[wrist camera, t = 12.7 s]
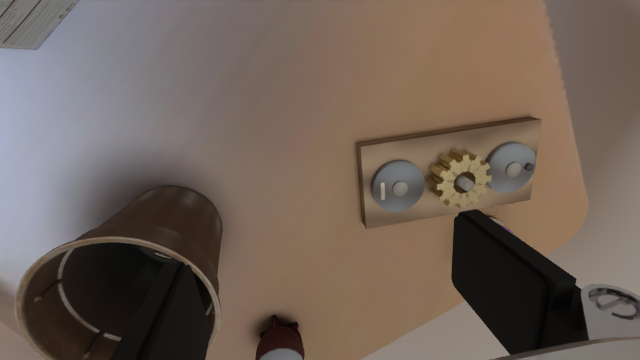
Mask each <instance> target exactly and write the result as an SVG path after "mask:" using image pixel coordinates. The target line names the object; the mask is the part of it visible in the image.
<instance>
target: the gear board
mask: <svg viewBox="0 0 640 360" xmlns="http://www.w3.org/2000/svg"><path fill="white" fill-rule="evenodd" d="M541 120H542V119H538V118H533V117H526V118H519V119H512V120H506V121H499V122H493V123H486V124H479V125H473V126H466V127H459V128H453V129H446V130H440V131H433V132H426V133H420V134H413V135H406V136H400V137H393V138H387V139H380V140H373V141H367V142H360V143H357V155H358V169H359V182H360V196H361V209H362V222H363V224H364V226H365V228H366V229H369V228H375V227H381V226H386V225H392V224H398V223H403V222H409V221H414V220H420V219H426V218H431V217H437V216H442V215H448V214H454V213H459V212H462V211H468V210H473V209H482V208H487V207H493V206H499V205H504V204H510V203H515V202H521V201H527V200H530V196H531V189H532V182H533V175H534V170H535V166H536V154H537V148H538V141H539V134H540V127H541ZM450 149H458V150H460V151H463V150H466V151H468V152H470V153H473V154H475V155H477V156H479V157H482V159H481V160H483V161H485V162H487V163H488V164H489V166H490V168H489V169H488V170H486V172H487V173H488V174H490V175H492V177H491V181H488V182H486V184H484V185H485V187H486V188H487V189H488V191H487V192H486V194H483V193H481V194H480V195H479V194H478V197H477V198H478V200H479V201H478V202H477V203H475V204H472V203H471V202H469V201H468V203H466V208H462V209H460V208H458V207H457V206H456V205H454V207H453V208H450V207H448V206H446V205H445V204H444V203H443V202H441V201H440V200H439V199H438V198H436V197H435V196H434V195H433V194H432V193H431V192H430V191H429V188H430V187H432V186H431V185H430V184H428V183H427V182H426V176H431V174H432V170H430V169H429V167H430V165H431V163H432V164H435V165H436V164H437V163H438V161H440V160H439V158H438V157H437V156H439V155H440V154H441V153H444V154H446V155H447V156H448V155H450ZM438 164H439V163H438ZM454 184H456V185H458V186H459V187H461V188H462V189H464V190H466V191H470V190H472V189H473V188H474V182H473V181H471V180H469V179H468V178H466V177H464V176H463V175H462V173H460V174H459V175H458V176H457V177H456V178H455V180H454Z"/></svg>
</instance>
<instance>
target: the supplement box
mask: <svg viewBox="0 0 640 360" xmlns="http://www.w3.org/2000/svg"><path fill="white" fill-rule="evenodd" d="M77 2H78V0H0V48H12V49H30V50H36V49H37V48H38V47H39V46H40V45H41V44H42V43H43V42H44V40H45V39H46V38H47V37H48V36H49V35H50V33H51V32H52V31H53V30H54V29H55V28H56V27H57V25H58V24H59V23H60V22H61V21H62V20H63V18H64V17H65V16H66V15H67V14H68V13H69V11H70V10H71V9H72V8H73V7H74V6H75V4H76V3H77Z"/></svg>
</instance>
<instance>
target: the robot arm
mask: <svg viewBox="0 0 640 360" xmlns="http://www.w3.org/2000/svg"><path fill="white" fill-rule="evenodd" d="M452 282H453V285H454V287H455V288H456V289H457V290H458V292H459V293H460V294H461V295H462V297H463V298H464V299H465V300H466V301H467V303H468V304H469V305H470V306H471V307H472V309H473V310H474V311H475V312H476V314H477V315H478V316H479V317H480V318H481V320H482V321H483V322H484V323H485V324H486V326H487V327H488V328H489V329H490V331H491V332H492V333H493V334H494V335H495V337H496V338H497V339H498V340H499V342H500V343H501V344H502V345H503V346H504V348H505V349H506V350H507V351H508V352H509V354H510V355H509V356H505V357H500V358H496V359H491V360H640V297H639V296H638V295H636V294H634V293H632V292H630V291H627V290H625V289H622V288H619V287H615V286H612V285H605V284H591V285H588V286H585V287H584V288H583V289H580V288H579V287H577V286H576V285H575V283H576V278H574V277H573V276H571V275H570V274H569V273H567V272H566V271H564V270H563V269H562V268H560V267H559V266H557V265H556V264H554V263H553V262H552V261H550V260H549V259H547V258H546V257H545V256H543V255H542V254H540V253H539V252H537V251H536V250H535V249H533V248H532V247H530V246H529V245H527V244H526V243H525V242H523V241H522V240H520V239H519V238H518V237H516V236H515V235H513V234H512V233H510V232H509V231H508V230H506V229H505V228H503V227H502V226H500V225H499V224H498V223H496V222H495V221H493V220H492V219H491V218H489V217H488V216H486V215H485V214H483V213H482V212H481V211H479V210H477V209H473V210H468V211H462V212H460V213H459V214H458V216H457V217H455V219H454V235H453V256H452ZM210 333H211V332H210V324H209V321H208V318H207V315H206V312H205V309H204V306H203V302H202V299H201V296H200V293H199V290H198V287H197V284H196V281H195V277H194V274H193V271H192V268H191V266H190V265H185V263H184V262H182V261H181V262H175V263H170V264H165V265H163V267H162V268H161V270H160V272H159V274H158V276H157V277H156V279H155V281H154V283H153V285H152V287H151V289H150V290H149V292H148V294H147V296H146V298H145V300H144V301H143V303H142V305H141V307H140V309H139V311H138V312H136V314H135V315H134V316H133V318H132V320H131V322H130V324H129V325H128V327H127V329H126V331H125V333H124V334H123V336H122V338H121V340H120V342H119V344H118V345H117V347H116V349H115V351H114V353H113V354H112V356H111V358H110V360H205V358H206V353H207V349H208V344H209V340H210Z"/></svg>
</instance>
